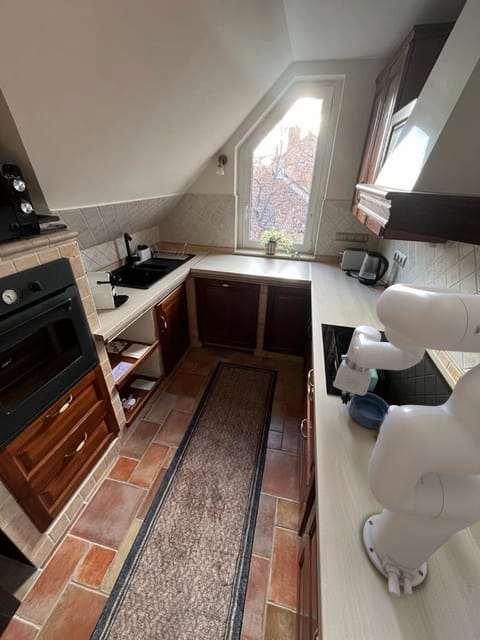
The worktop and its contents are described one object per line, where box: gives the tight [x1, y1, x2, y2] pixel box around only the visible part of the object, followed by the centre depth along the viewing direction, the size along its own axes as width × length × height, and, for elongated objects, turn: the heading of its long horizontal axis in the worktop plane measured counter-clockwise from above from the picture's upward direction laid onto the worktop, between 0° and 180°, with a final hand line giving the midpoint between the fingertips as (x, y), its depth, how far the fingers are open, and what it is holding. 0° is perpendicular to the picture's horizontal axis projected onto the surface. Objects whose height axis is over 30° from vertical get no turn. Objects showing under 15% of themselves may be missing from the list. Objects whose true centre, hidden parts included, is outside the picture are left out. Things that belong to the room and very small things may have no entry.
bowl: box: [348, 391, 390, 430], centre depth 89 cm, size 12×12×5 cm
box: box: [367, 369, 379, 392], centre depth 104 cm, size 7×14×8 cm, turn 164°
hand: (344, 401), depth 91 cm, fingers closed
